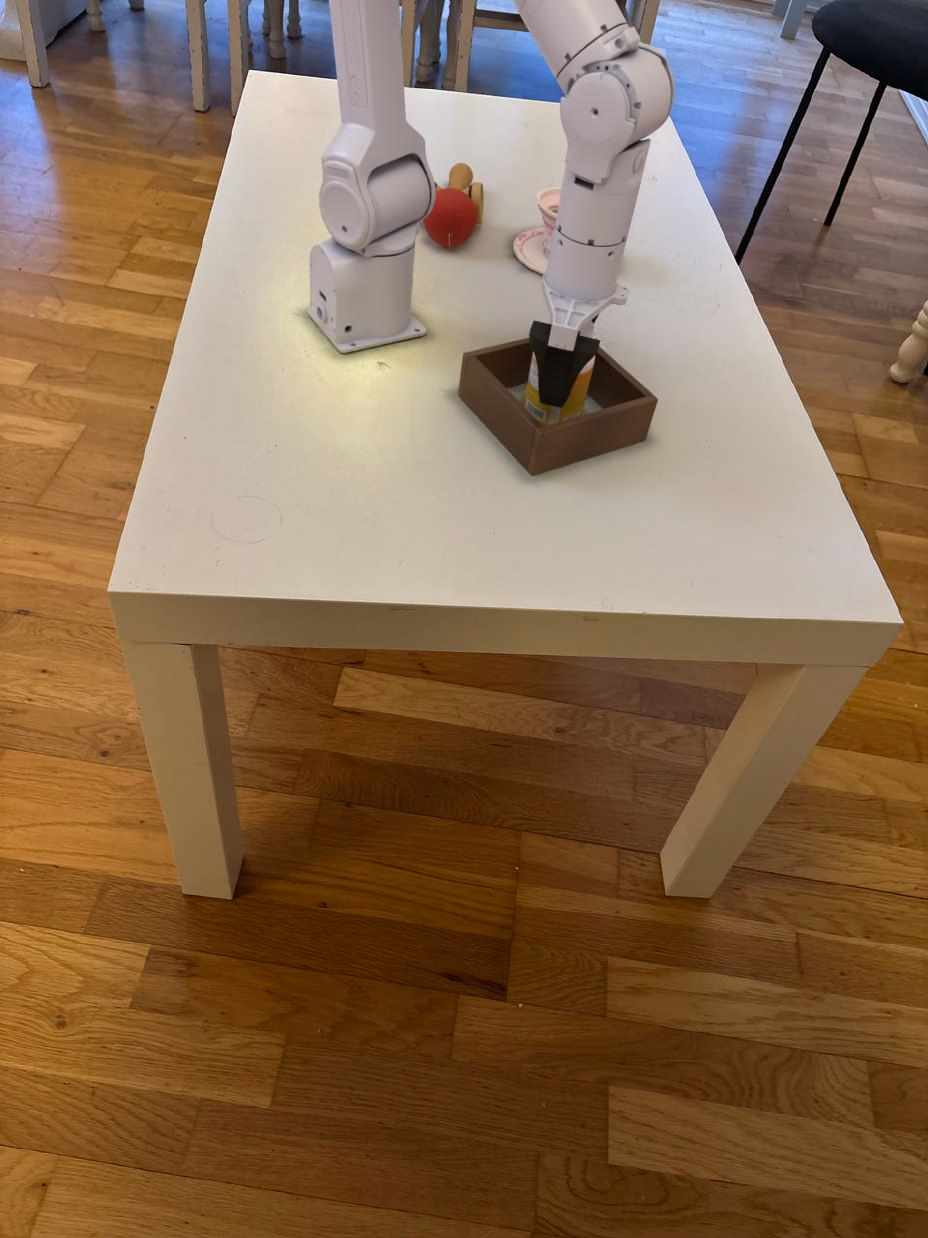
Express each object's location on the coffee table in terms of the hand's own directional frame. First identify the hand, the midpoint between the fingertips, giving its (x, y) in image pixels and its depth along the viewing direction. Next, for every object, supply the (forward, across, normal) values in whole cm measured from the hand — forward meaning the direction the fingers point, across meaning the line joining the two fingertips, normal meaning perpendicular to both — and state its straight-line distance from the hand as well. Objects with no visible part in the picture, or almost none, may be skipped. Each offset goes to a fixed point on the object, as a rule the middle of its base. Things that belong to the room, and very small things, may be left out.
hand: (559, 379), depth 81 cm
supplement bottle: (+4, 0, 0) cm, 4 cm away
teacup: (+4, +31, +4) cm, 32 cm away
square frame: (+4, 0, 0) cm, 4 cm away
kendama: (+4, +34, +18) cm, 39 cm away
